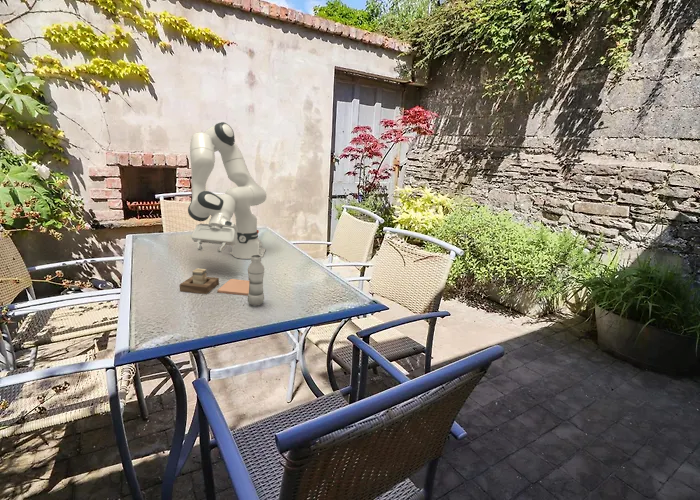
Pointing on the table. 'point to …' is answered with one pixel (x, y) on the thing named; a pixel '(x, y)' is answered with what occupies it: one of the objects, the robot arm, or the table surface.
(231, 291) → the terracotta tile
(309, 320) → the table surface
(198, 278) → the block
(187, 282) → the walnut collar holder
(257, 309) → the table surface
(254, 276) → the plastic bottle
